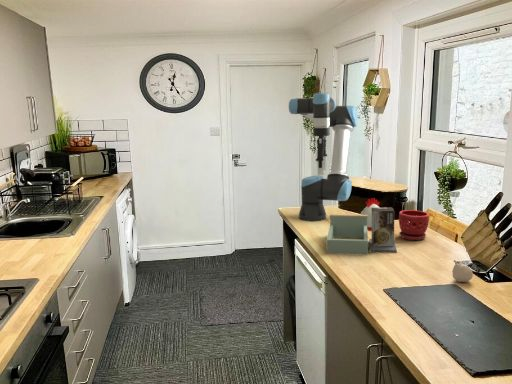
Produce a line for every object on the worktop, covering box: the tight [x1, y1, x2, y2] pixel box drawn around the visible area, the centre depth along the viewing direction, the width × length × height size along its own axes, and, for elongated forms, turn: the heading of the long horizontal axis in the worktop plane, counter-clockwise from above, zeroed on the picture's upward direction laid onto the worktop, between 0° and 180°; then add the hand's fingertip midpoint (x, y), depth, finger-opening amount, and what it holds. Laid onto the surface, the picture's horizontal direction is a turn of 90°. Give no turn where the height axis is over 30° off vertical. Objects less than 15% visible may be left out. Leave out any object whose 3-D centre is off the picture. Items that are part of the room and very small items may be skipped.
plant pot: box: [398, 209, 430, 241], centre depth 210 cm, size 13×13×12 cm
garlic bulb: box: [451, 259, 474, 283], centre depth 159 cm, size 7×6×8 cm
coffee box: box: [370, 206, 395, 246], centre depth 198 cm, size 9×6×16 cm
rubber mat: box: [368, 238, 398, 254], centre depth 200 cm, size 15×11×1 cm
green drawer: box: [326, 213, 369, 256], centre depth 204 cm, size 25×17×11 cm
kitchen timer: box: [360, 197, 381, 231], centre depth 230 cm, size 14×14×15 cm
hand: (321, 172), depth 215 cm, fingers open, 13 cm apart
